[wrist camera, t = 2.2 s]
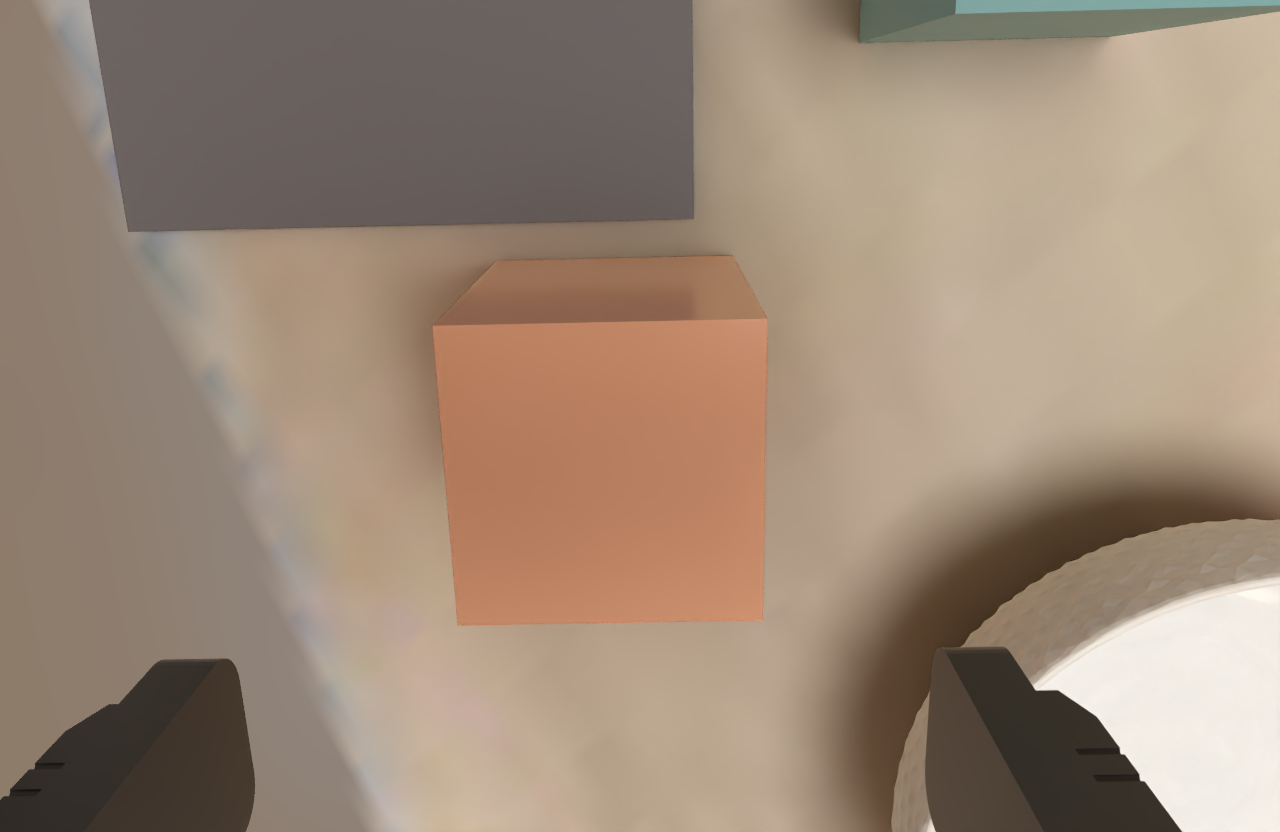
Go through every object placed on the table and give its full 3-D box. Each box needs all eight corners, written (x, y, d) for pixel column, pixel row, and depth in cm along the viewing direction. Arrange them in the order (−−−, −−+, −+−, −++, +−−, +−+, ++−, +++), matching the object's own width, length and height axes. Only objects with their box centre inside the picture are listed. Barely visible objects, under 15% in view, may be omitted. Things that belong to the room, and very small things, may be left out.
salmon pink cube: (496, 260, 26) (431, 325, 18) (732, 255, 26) (767, 319, 18) (511, 481, 28) (457, 625, 20) (731, 477, 27) (763, 620, 20)
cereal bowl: (739, 786, 30) (764, 979, 24) (1108, 335, 26) (1265, 414, 20) (1166, 1034, 33) (1297, 1273, 26) (1563, 659, 29) (1841, 828, 22)
